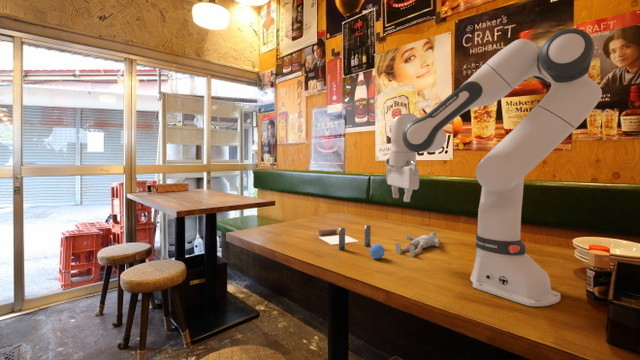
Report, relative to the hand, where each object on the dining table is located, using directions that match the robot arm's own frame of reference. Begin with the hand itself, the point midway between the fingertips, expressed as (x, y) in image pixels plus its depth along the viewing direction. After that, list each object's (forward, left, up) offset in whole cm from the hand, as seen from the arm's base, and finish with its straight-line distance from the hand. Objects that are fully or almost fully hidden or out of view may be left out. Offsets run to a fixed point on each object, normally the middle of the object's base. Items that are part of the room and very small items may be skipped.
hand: (400, 199), depth 109 cm
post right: (+24, -2, -23) cm, 33 cm away
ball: (+8, +4, -20) cm, 22 cm away
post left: (+24, +11, -23) cm, 35 cm away
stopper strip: (+50, +4, -23) cm, 55 cm away
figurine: (+12, -21, -24) cm, 34 cm away
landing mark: (+39, +4, -23) cm, 45 cm away
